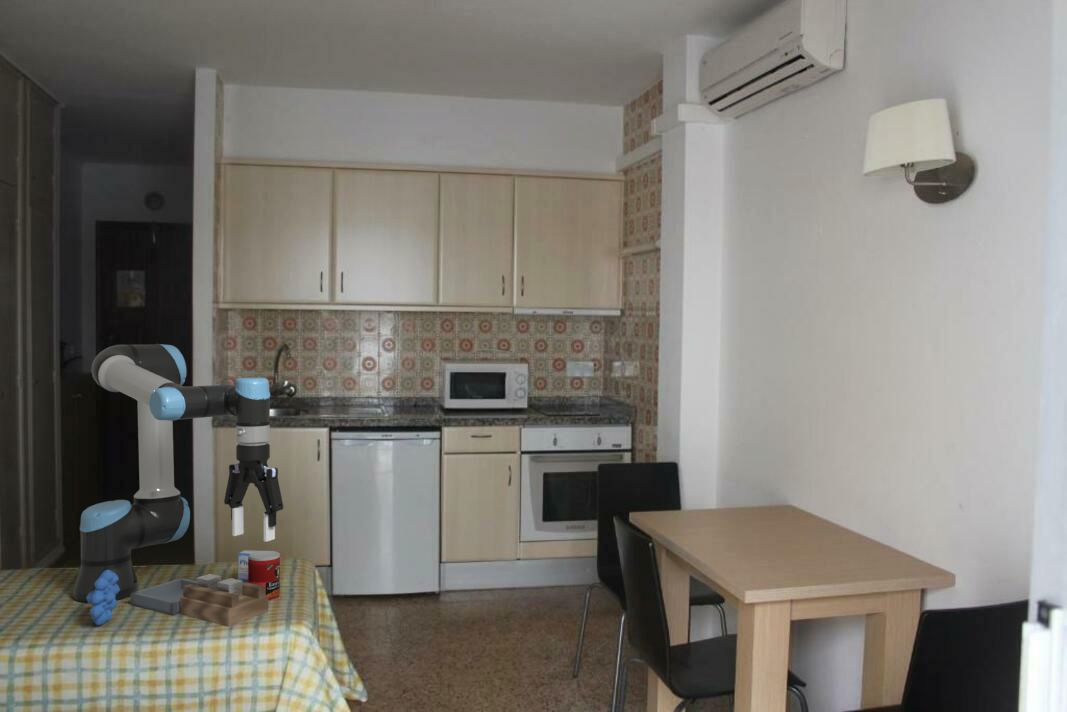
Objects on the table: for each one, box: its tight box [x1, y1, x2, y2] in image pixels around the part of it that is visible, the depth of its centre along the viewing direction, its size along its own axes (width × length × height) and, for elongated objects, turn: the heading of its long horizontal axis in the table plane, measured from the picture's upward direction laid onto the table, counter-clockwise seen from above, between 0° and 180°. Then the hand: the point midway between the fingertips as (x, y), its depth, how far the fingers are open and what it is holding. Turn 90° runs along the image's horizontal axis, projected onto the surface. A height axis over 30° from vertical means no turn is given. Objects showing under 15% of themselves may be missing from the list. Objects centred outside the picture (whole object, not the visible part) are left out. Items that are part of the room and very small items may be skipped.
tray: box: [130, 577, 196, 616], centre depth 214 cm, size 16×15×3 cm
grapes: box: [86, 570, 120, 627], centre depth 198 cm, size 12×7×12 cm, turn 4°
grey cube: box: [217, 577, 242, 598], centre depth 204 cm, size 4×4×4 cm
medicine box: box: [237, 549, 259, 583], centre depth 230 cm, size 8×4×9 cm, turn 77°
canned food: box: [248, 550, 281, 601], centre depth 218 cm, size 8×8×11 cm
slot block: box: [179, 576, 269, 627], centre depth 205 cm, size 17×12×6 cm
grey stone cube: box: [195, 573, 222, 590], centre depth 208 cm, size 4×4×4 cm
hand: (253, 537), depth 200 cm, fingers open, 10 cm apart
